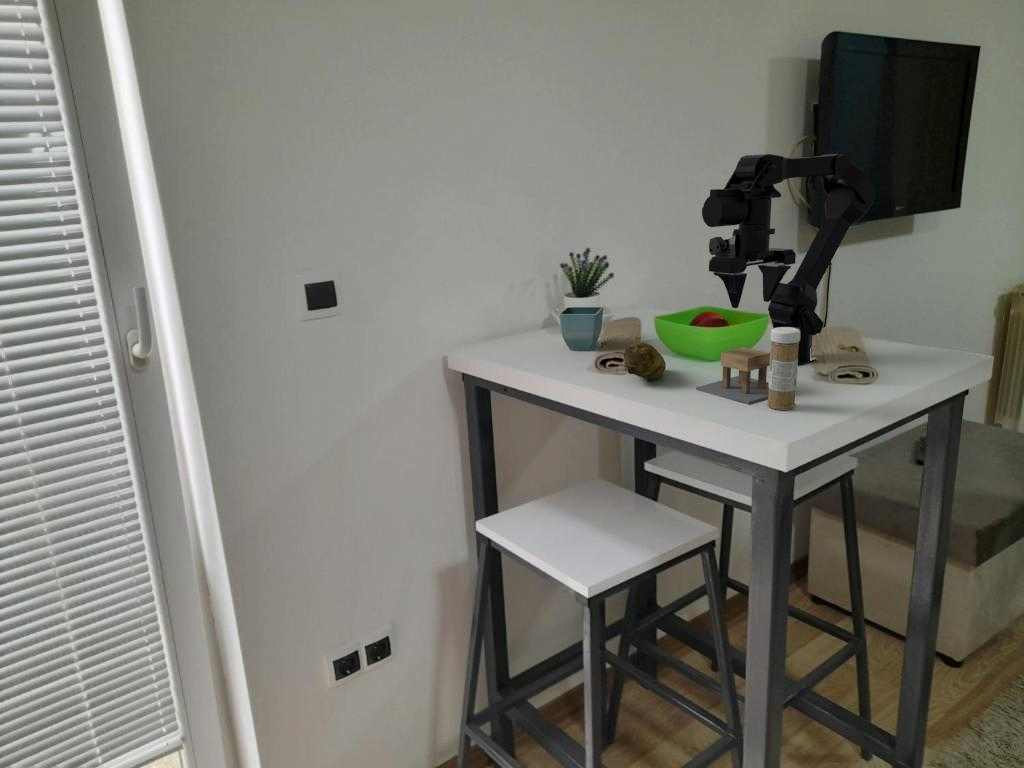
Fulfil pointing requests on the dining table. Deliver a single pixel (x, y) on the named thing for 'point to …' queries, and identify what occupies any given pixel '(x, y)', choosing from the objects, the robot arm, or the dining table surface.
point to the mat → (737, 391)
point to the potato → (644, 361)
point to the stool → (745, 366)
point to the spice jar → (783, 368)
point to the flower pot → (581, 326)
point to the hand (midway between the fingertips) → (750, 304)
